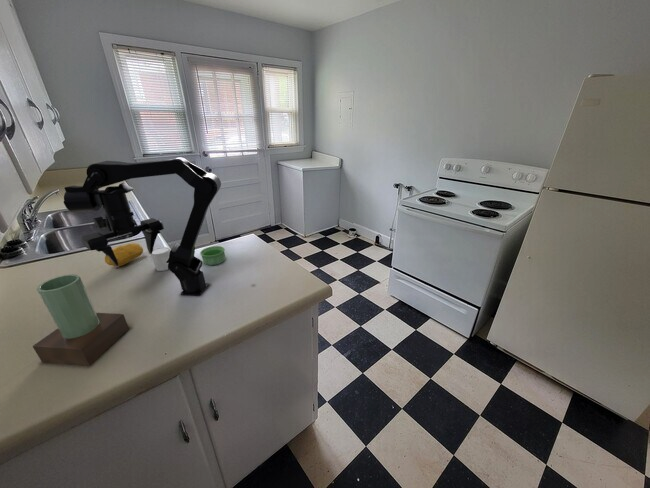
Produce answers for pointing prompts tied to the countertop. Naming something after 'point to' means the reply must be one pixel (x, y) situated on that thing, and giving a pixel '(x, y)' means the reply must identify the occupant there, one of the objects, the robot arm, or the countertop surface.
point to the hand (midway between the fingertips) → (134, 259)
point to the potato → (125, 254)
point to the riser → (82, 342)
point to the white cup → (160, 258)
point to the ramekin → (213, 255)
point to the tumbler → (69, 305)
